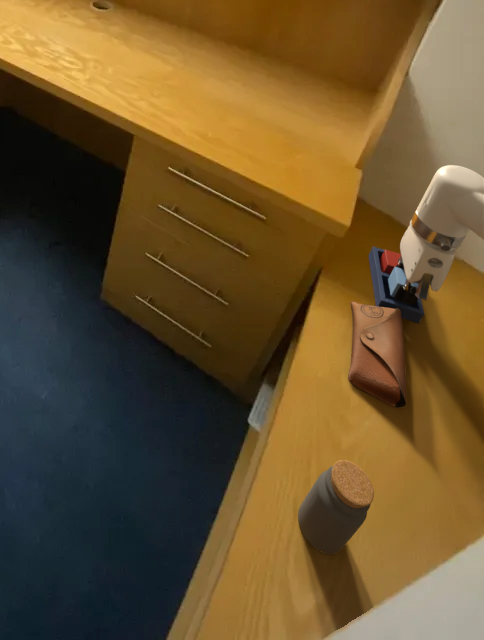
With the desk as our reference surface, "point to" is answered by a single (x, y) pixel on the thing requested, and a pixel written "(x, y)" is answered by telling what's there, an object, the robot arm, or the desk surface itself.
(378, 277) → the tray
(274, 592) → the desk surface
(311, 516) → the bottle
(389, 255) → the red block
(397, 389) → the sunglasses case
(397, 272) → the blue block
